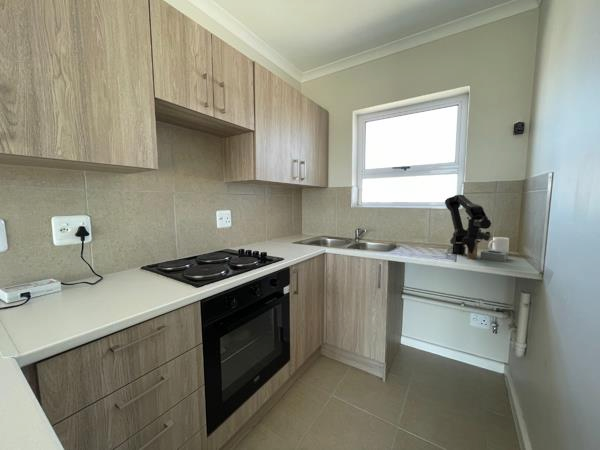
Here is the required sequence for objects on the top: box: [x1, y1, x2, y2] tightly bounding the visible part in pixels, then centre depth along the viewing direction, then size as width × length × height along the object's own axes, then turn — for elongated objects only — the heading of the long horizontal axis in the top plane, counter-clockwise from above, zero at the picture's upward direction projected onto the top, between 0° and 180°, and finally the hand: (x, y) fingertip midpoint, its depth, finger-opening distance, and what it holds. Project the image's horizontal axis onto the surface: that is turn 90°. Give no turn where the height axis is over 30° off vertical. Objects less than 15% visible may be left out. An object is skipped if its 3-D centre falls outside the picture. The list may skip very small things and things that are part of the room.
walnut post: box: [466, 243, 479, 260], centre depth 148 cm, size 4×4×10 cm
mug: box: [487, 236, 510, 253], centre depth 161 cm, size 12×8×10 cm
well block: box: [480, 249, 509, 263], centre depth 147 cm, size 11×11×4 cm
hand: (472, 252), depth 148 cm, fingers closed on walnut post, 4 cm apart
